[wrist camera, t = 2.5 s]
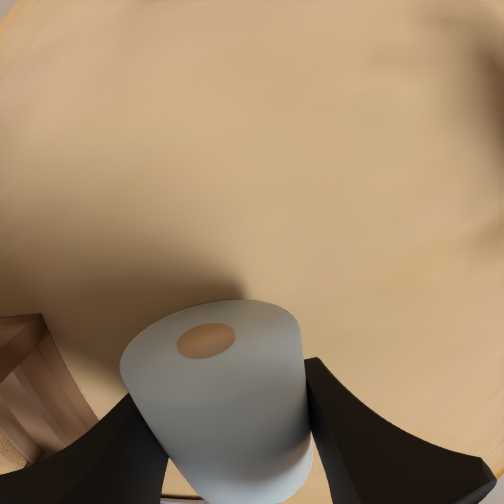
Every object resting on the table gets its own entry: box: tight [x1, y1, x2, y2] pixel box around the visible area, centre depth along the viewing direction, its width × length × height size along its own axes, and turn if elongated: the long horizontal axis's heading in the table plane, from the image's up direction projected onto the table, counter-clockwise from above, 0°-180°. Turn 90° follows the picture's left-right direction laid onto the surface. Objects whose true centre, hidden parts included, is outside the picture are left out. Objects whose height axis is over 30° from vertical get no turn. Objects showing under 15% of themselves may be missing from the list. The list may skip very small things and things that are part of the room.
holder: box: [0, 313, 99, 468], centre depth 10 cm, size 11×8×4 cm
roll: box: [120, 300, 313, 504], centre depth 8 cm, size 6×5×5 cm
